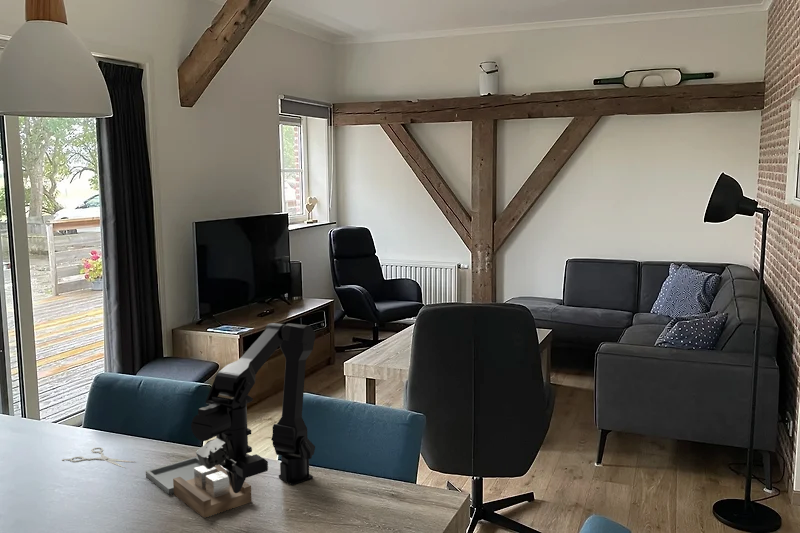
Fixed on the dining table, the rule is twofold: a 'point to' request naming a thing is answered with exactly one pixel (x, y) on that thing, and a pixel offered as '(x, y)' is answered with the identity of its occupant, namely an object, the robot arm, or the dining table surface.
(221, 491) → the brushed metal block
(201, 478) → the grey metal cube
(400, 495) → the dining table surface
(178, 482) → the slot block
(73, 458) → the scissors
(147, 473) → the tray
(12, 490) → the dining table surface
